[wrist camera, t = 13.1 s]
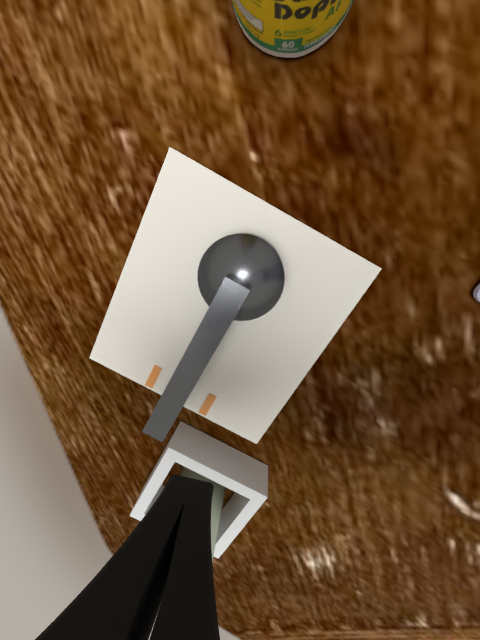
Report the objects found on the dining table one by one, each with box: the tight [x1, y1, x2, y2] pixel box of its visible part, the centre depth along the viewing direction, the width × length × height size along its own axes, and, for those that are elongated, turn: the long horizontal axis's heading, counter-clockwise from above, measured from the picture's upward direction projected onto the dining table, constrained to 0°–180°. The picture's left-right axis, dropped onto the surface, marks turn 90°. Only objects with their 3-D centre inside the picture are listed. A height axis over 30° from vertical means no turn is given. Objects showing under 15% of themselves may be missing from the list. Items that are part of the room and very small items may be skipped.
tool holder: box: [130, 421, 268, 558], centre depth 20 cm, size 7×7×2 cm
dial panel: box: [90, 147, 382, 444], centre depth 17 cm, size 13×12×1 cm
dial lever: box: [142, 233, 285, 442], centre depth 15 cm, size 12×4×3 cm, turn 151°
